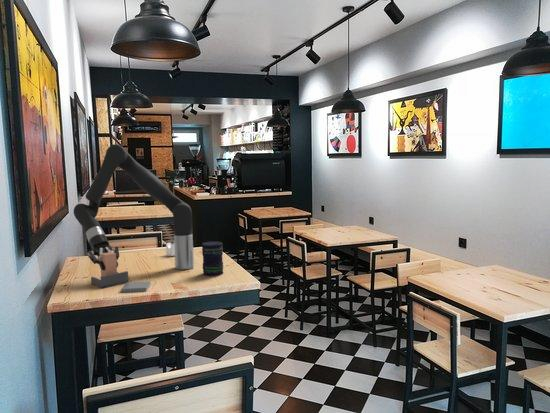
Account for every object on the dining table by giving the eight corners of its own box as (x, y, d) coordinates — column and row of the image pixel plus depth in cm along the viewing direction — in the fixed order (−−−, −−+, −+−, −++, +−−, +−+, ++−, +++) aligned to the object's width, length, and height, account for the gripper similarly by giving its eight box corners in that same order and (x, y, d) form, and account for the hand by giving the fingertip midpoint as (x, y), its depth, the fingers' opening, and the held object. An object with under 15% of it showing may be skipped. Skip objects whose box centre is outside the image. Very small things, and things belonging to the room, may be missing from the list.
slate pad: (150, 284, 180) (150, 281, 180) (146, 291, 170) (146, 287, 170) (127, 285, 179) (126, 282, 179) (121, 292, 169) (121, 288, 169)
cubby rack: (91, 283, 183) (90, 272, 182) (117, 278, 191) (116, 267, 191) (102, 288, 175) (101, 277, 175) (128, 282, 184) (127, 271, 183)
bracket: (172, 257, 236) (171, 244, 236) (166, 255, 242) (166, 243, 241) (192, 254, 245) (191, 241, 244) (186, 252, 250) (185, 240, 249)
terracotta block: (101, 280, 183) (99, 253, 182) (112, 277, 187) (110, 251, 186) (106, 282, 180) (104, 255, 179) (117, 279, 184) (115, 253, 182)
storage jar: (198, 274, 196) (197, 243, 195) (213, 270, 204) (212, 240, 203) (213, 277, 190) (212, 245, 189) (227, 273, 198) (227, 242, 197)
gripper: (83, 235, 181) (96, 266, 174) (114, 231, 192) (128, 260, 185) (79, 246, 186) (92, 276, 179) (110, 241, 196) (123, 270, 189)
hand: (110, 268), depth 182 cm, fingers closed on terracotta block, 5 cm apart
